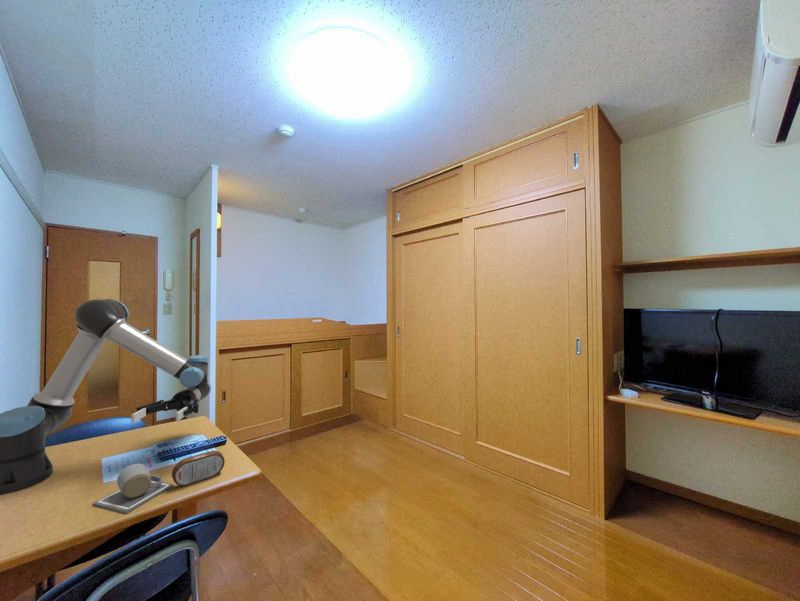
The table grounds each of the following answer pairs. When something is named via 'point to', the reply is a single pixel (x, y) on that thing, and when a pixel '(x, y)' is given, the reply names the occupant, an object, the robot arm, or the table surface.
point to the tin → (198, 468)
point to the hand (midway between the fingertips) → (155, 417)
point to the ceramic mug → (136, 480)
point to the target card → (130, 499)
